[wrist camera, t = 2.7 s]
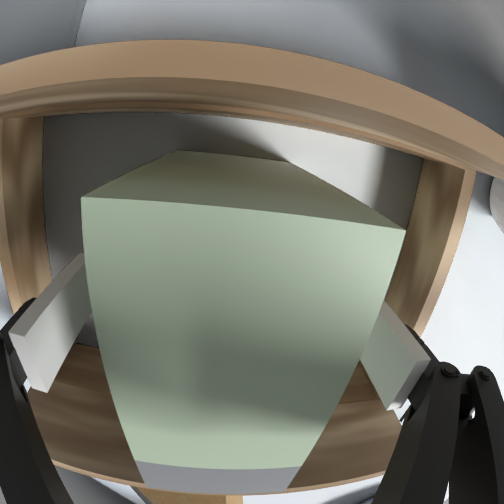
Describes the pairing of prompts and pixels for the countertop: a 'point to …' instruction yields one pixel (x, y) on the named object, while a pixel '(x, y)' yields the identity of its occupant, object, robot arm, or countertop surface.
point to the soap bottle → (497, 202)
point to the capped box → (230, 312)
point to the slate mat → (37, 27)
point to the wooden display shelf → (247, 107)
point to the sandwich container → (184, 497)
